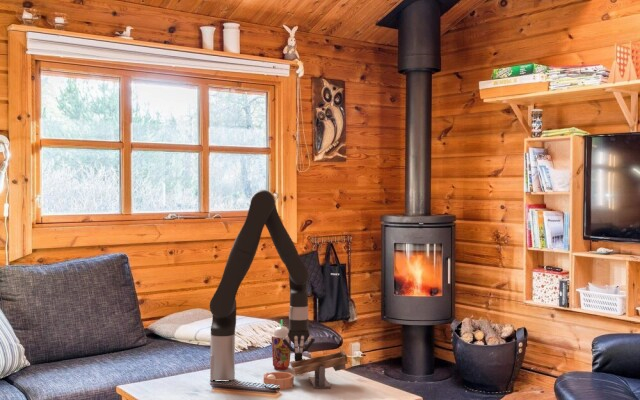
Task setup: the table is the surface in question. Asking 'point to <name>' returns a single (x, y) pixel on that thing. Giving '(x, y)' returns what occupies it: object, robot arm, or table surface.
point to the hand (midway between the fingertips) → (298, 362)
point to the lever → (320, 363)
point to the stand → (320, 379)
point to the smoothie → (280, 348)
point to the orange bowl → (280, 379)
